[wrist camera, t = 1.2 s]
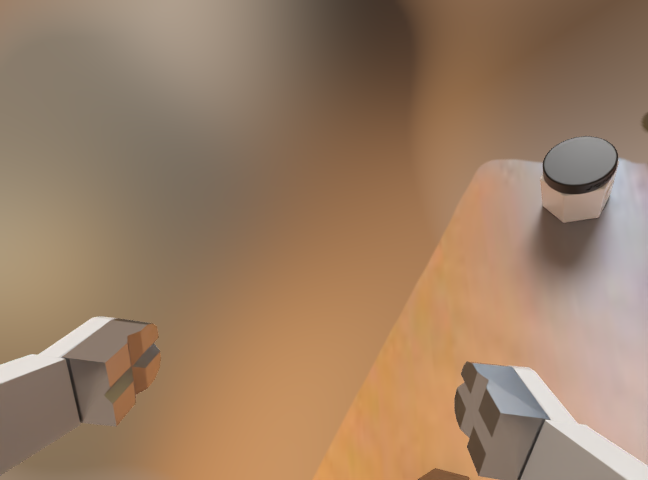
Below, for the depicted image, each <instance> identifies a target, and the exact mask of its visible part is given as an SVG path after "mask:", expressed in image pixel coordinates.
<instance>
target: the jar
mask: <svg viewBox="0 0 648 480" xmlns="http://www.w3.org/2000/svg"><path fill="white" fill-rule="evenodd" d="M618 164H619V161H618V153H617V151H616V149H615V147H614V146H613V145H612V144H611V143H609V142H608V141H606V140H604V139H601V138H597V137H589V136H588V137H587V136H584V137H576V138H572V139H568V140H566V141H563V142H561V143H559V144H558V145H556V146H555V147H553V148H552V149H551V150H550V151H549V152H548V153H547V155H546V156H545V158H544V161H543V174H542V176H541V178H540V182H541V193H542V204H543V206H544V207H545V208H546V209H547V210H548V211H550V212H551V213H552V214H553V215H554V216H556V217H557V218H558V219H559V220H561V221H562V222H563V223H566V222H572V221H579V220H585V219H592V218H598V217H599V216H600V214H601V212H602V210H603V208H604V206H605V204H606V202H607V200H608V198H609V196H610V194H611V190H612V187H613V183H614V179H615V175H616V171H617V168H618Z"/></svg>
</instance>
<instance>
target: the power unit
mask: <svg viewBox="0 0 648 480" xmlns="http://www.w3.org/2000/svg"><path fill="white" fill-rule="evenodd" d="M418 480H469V477H467V476H463V475H459V474H455V473H451V472H447V471H443V470H440V469H436V468H435V469H433V470H432V471H430V472H429V473H427V474H425V475H424V476H422V477H421V478H419V479H418Z"/></svg>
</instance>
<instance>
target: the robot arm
mask: <svg viewBox="0 0 648 480" xmlns="http://www.w3.org/2000/svg"><path fill="white" fill-rule="evenodd" d="M158 337H159V336H158V330H157V326H155V325H154V324H153V323H147V322H140V321H133V320H125V319H119V318H118V319H115V318H110V317H102V316H98V317H93V318H91V319H90V320H88V321H87V322H85V323H84V324H83V325H81V326H80V327H78V328H77V329H75V330H74V331H72V332H71V333H69V334H68V335H67V336H65V337H63V338H62V339H61V340H59V341H58V342H56V343H55V344H53V345H52V346H50V347H49V348H47V349H46V350H44V351H43V352H41V353H40V354H39V355H32V354H31V355H28V356H25V357H22V358H19V359H16V360H13V361H10V362H7V363H4V364H1V365H0V475H2V474H4V473H5V472H7V471H8V470H10V469H12V468H13V467H15V466H16V465H18V464H20V463H21V462H23V461H24V460H26V459H27V458H29V457H31V456H32V455H33V454H35V453H37V452H38V451H40V450H42V449H43V448H45V447H46V446H48V445H49V444H51V443H53V442H54V441H56V440H57V439H59V438H60V437H62V436H64V435H65V434H67V433H68V432H70V431H72V430H73V429H75V428H76V427H78V426H79V425H80V424H81V423H88V424H99V425H109V426H117V425H118V424H119V423H120V421H121V420H122V419H123V418H124V417H125V416H126V414H127V413H128V412H129V411H130V409H131V408H132V407H133V406H134V405H135V403H136V394H138V393H140V392H142V391H144V390H146V389H147V388H148V387H149V386H150V385H151V383H152V382H153V381H154V380H155V377H156V375H157V373H158V370H159V368H160V361H161V356H160V350H159V349H158V348H157V347H156V345H155V344H154V343H155V341H156V340H157V339H158ZM461 375H462V377H463V379H464V383H463V384H462V385H460V386H459V387H458V388H457V390H456V395H455V414H456V419H457V422H458V425H459V427H460V429H461V430H462V431H463V432H464V433H465V434H466V435H467V436H468V437H469V438H470V439H469V442H468V445H467V448H468V451H469V453H470V456H471V458H472V461H473V463H474V466H475V468H476V471H477V473H478V476H482V477H488V478H494V479H500V480H648V466H647V465H646V464H644V463H643V462H641V461H640V460H638V459H637V458H635V457H634V456H632V455H631V454H629V453H627V452H626V451H624V450H623V449H621V448H620V447H618V446H617V445H615V444H614V443H612V442H611V441H609V440H608V439H606V438H605V437H603V436H602V435H600V434H599V433H597V432H596V431H594V430H592V429H591V428H589V427H588V426H586V425H583V424H578V423H577V422H576V421H575V420H574V418H573V417H572V416H571V415H570V413H569V412H568V411H567V410H566V409H565V407H564V406H563V405H562V404H561V402H560V401H559V400H558V399H557V398H556V396H555V395H554V394H553V393H552V392H551V390H550V389H549V388H548V387H547V385H546V384H545V383H544V382H543V381H542V379H541V378H540V377H539V376H538V374H537V373H536V372H535V371H534V370H532V369H530V368H529V367H519V366H502V365H493V364H485V363H476V362H466V363H465V365H464V366H463V369H462V372H461Z"/></svg>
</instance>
